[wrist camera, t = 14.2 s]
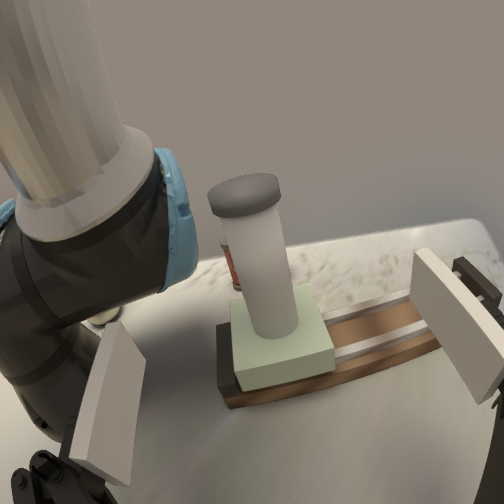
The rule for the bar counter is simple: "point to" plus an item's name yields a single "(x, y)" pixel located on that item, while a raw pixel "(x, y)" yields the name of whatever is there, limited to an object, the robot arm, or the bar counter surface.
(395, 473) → the bar counter surface
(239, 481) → the bar counter surface
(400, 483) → the bar counter surface
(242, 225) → the carriage
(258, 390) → the rail track
